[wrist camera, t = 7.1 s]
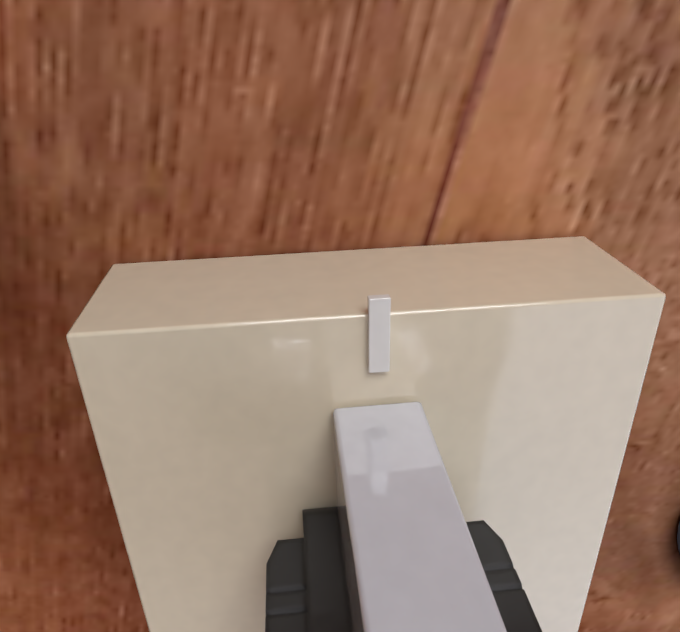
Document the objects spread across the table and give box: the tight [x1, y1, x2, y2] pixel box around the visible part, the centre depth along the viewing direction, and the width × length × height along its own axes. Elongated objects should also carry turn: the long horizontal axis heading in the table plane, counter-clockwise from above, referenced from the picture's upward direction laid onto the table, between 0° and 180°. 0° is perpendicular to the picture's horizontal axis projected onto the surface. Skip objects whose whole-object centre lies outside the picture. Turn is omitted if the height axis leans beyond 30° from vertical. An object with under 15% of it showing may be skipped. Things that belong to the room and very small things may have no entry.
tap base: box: [66, 236, 666, 632], centre depth 13 cm, size 11×10×3 cm
